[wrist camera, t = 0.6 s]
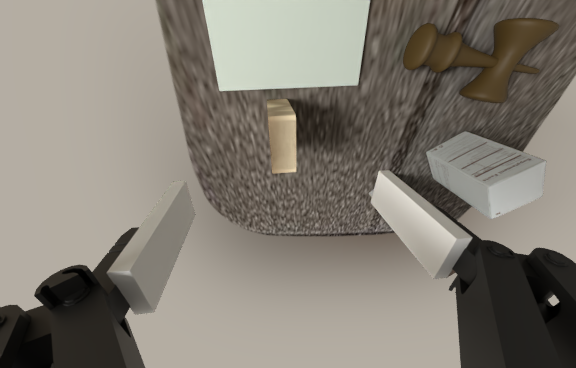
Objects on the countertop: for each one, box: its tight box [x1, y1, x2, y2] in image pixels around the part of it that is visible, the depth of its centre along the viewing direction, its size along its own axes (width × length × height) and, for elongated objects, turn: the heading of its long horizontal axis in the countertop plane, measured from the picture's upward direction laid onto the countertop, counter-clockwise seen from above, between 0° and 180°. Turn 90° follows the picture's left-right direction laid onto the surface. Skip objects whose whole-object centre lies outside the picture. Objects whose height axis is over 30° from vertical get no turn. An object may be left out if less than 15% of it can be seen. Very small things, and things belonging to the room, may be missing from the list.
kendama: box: [403, 18, 559, 103], centre depth 28 cm, size 6×10×20 cm
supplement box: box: [426, 131, 546, 219], centre depth 33 cm, size 7×7×13 cm
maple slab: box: [267, 99, 296, 173], centre depth 28 cm, size 3×7×10 cm, turn 1°
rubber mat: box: [202, 0, 370, 91], centre depth 26 cm, size 20×14×1 cm
